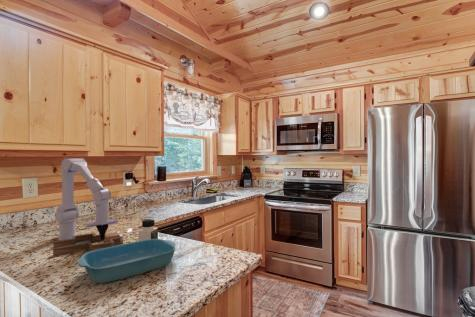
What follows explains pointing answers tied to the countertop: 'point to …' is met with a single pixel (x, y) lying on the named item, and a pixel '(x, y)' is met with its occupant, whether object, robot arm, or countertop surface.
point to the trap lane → (83, 243)
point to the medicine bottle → (148, 230)
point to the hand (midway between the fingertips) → (102, 239)
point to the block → (111, 236)
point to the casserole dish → (127, 259)
